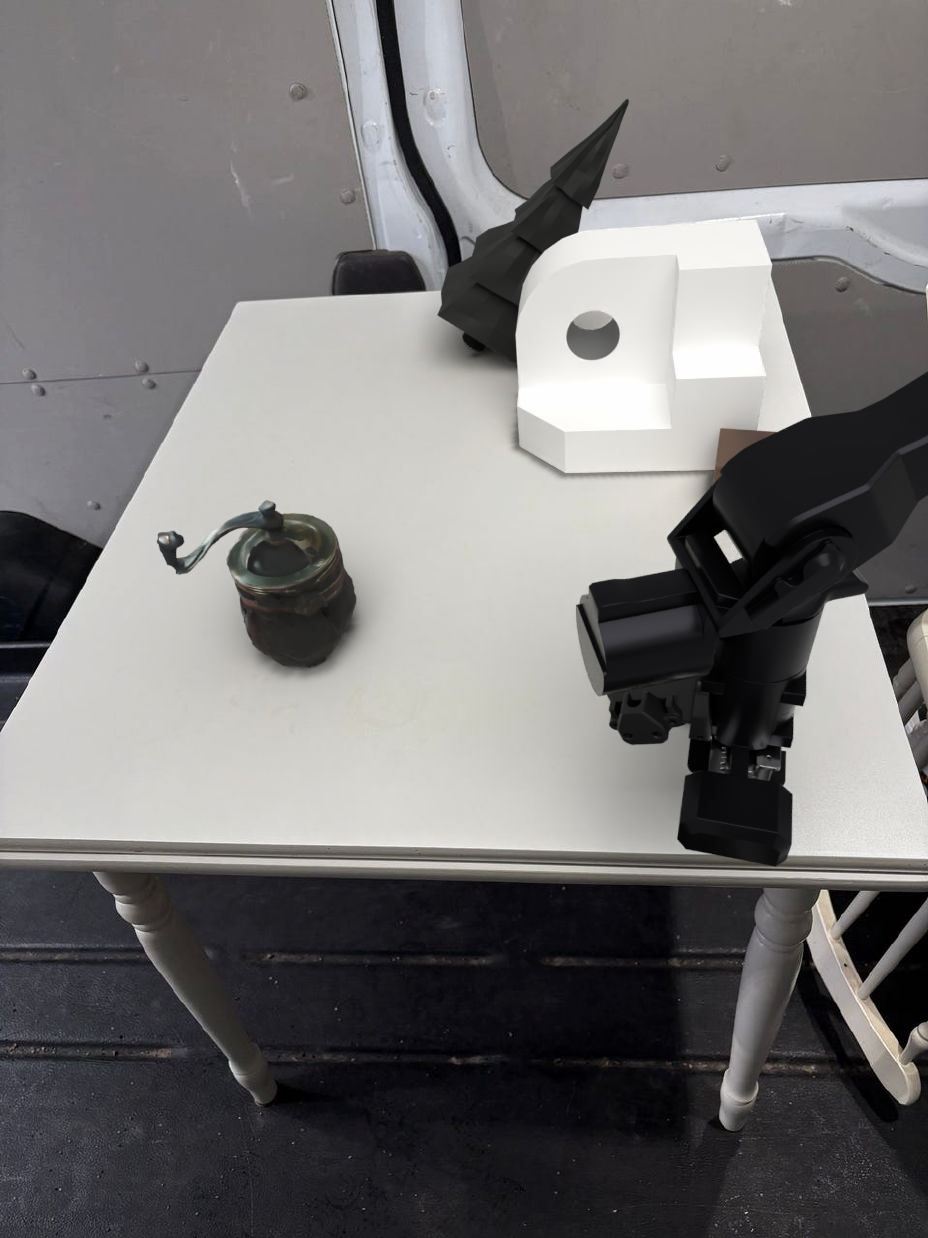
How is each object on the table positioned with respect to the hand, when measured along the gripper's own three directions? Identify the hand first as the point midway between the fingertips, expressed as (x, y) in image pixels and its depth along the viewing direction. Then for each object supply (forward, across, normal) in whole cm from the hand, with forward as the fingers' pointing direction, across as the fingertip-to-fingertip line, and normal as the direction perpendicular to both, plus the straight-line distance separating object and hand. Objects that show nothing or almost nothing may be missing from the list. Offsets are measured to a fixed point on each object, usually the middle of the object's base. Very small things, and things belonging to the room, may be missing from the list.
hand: (725, 791), depth 60 cm
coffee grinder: (+5, -11, -40) cm, 42 cm away
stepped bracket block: (+5, -52, -14) cm, 54 cm away
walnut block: (+5, -41, 0) cm, 41 cm away
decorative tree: (+5, -71, -30) cm, 77 cm away
